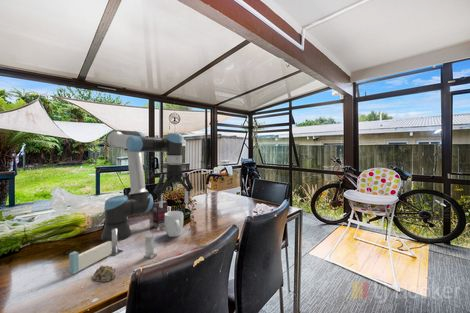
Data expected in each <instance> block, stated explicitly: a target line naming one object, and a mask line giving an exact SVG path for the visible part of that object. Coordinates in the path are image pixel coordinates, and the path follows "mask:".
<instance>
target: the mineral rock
mask: <svg viewBox="0 0 470 313" xmlns="http://www.w3.org/2000/svg"><path fill="white" fill-rule="evenodd" d="M116 271H117V270H116V268H113V267H112V266H109V265H101V266H100V267H99V268H97V269H96V271H95V272H94V273H93V276H92V280H93V281H97V282H102V283H104V282H105V283H106V282H110V281H113V280H114V279H116V277H117V275H116Z"/></svg>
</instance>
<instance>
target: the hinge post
mask: <svg viewBox="0 0 470 313" xmlns="http://www.w3.org/2000/svg"><path fill="white" fill-rule="evenodd" d="M111 246H112V254H110V255H109V256H112V257H115V256H117V255H119V254H121V253H123V251H124V250H122V249H118V241H117V228H114V229H112V242H111Z"/></svg>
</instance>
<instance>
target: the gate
mask: <svg viewBox="0 0 470 313" xmlns="http://www.w3.org/2000/svg"><path fill="white" fill-rule="evenodd" d="M110 254H112V242H111V241H107V242H105V241H104V242H103V243H100V244H99V245H97V246H94V247H91V248H90V249H88V250H85V251H83V252H81V253H79V251H75V250H74V251H71V252H70V253H69V254H68V256H69V257H68V259H69V260H68V261H69V262H68V263H69V264H68V265H69V267H68V268H69V269H68V270H69V271H68V273H69V274H73V275H75V274H76V273H78V272H79V271H81V270H83V269H85V268H87V267H89V266H90V265H93V264H95V263H97V262H98V261H101V260H102V259H104V258H106V257H108V256H111V255H110Z"/></svg>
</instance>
